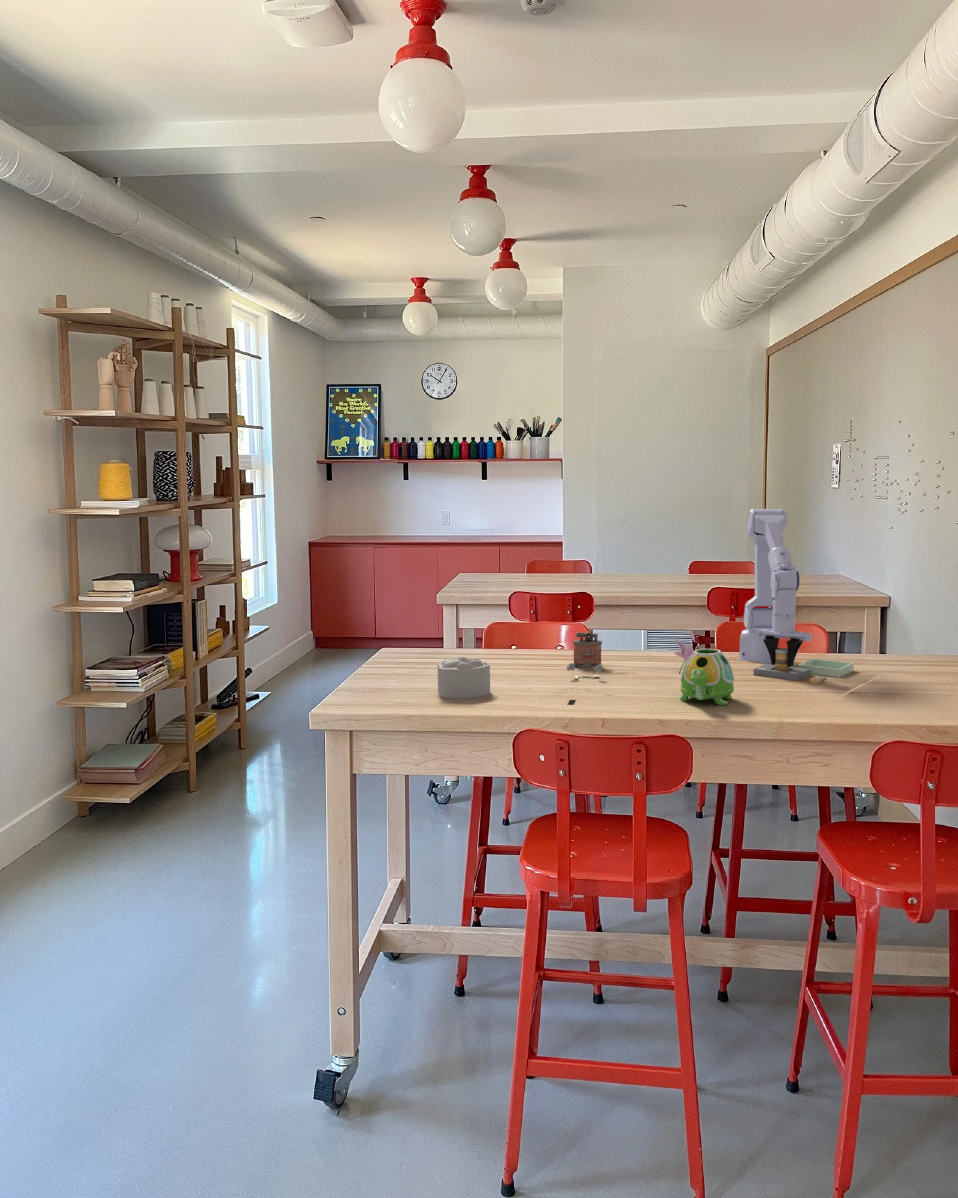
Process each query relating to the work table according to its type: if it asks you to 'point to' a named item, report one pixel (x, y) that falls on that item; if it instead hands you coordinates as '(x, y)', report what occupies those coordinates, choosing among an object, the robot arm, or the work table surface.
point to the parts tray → (827, 667)
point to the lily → (684, 652)
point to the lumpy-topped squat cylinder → (463, 678)
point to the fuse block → (782, 672)
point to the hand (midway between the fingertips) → (782, 665)
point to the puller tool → (817, 679)
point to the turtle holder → (707, 677)
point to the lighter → (587, 650)
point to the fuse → (781, 659)
